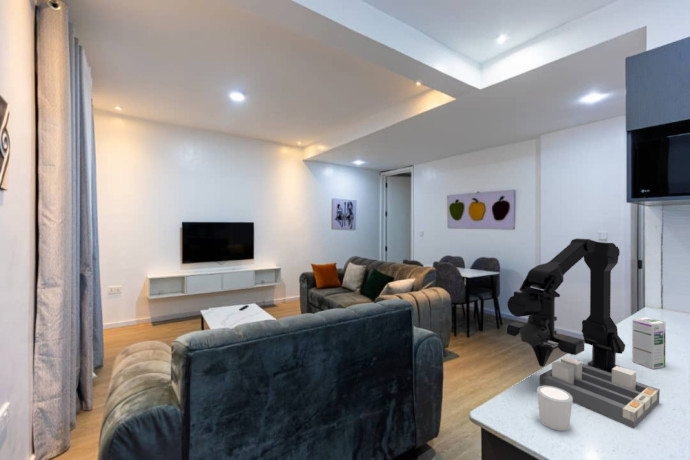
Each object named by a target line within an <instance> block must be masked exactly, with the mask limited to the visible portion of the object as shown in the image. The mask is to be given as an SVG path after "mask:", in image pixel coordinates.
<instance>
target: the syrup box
mask: <svg viewBox="0 0 690 460" xmlns="http://www.w3.org/2000/svg"><path fill="white" fill-rule="evenodd" d="M631 329H632V331H631V332H632V337H631V338H632V350H631V351H632V353H631V354H632V355H631V357H632V362H633V363H635V364H637V365H640V366H642V367H644V368H645V367H646V368H648V369H651V370H655V369H660V368H666V322H665V321H662V320H660V319H655V318H651V317H646V316H644V317H641V318H632V328H631Z"/></svg>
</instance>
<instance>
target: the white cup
mask: <svg viewBox="0 0 690 460" xmlns="http://www.w3.org/2000/svg"><path fill="white" fill-rule="evenodd" d="M536 388H537V389H536V390H537V391H536V392H537V401H538V402H537V404H538V414H539V421H540V422H541V424H543V425H544V426H546V427H548V428H549V429H552V430H555V431H560V432H563V431H564V432H565V431H568V430H569V429H570V423H571V422H570V421H571V415H572V408H573V407H572V406H573V402H572V401H573V398H572V396H571V395H570V394H569V393H568V392H566V391H564V390H562V389H560V388H557V387H553V386H540V385H539V386H538V387H536Z"/></svg>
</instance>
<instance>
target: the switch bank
mask: <svg viewBox="0 0 690 460" xmlns="http://www.w3.org/2000/svg"><path fill="white" fill-rule="evenodd" d="M539 386H553V387H557V388H560V389H562V390H564V391H566V392H568V393H569V394H570V395H571V396H572V398H573V401H572V403H575V404H578V405H580V406H582V407H584V408H586V409H589V410H591V411H593V412H596V413H598V414H601V415H602V416H606V417H607V418H609V419H612V420H614V421H617V422H618V423H621V424H624V425H626V426H629V427H631V428H633V429H635V428H636V426H638V425H639V424H640V423H641V422H642V421H643V420H644V419H645V418H646V417H647V416H648V415H649V414H650V413H651V412H652V411H653V410H654V409H656V407H657V406H658V405H659V404H660V392H661V391H660V388H656V387H653V386H652V385H651V386H650V385H648V384H644V383H642V382H638V381H636V391H635V390H632V389H629V388H627V387H624V386H621V385H618V384H615V383H612V373H611V372H608V371H605V370H602V369H599V368H596V367H593V366H590V365H587V364H584V363H582V379H579V378H576V377H574V385H573V384H570V383H568V382H565V381H562V380H560V379H557V378H555V377H552V368H550V369H549V370H547V371H545V372H544V373H542V374H539Z"/></svg>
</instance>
